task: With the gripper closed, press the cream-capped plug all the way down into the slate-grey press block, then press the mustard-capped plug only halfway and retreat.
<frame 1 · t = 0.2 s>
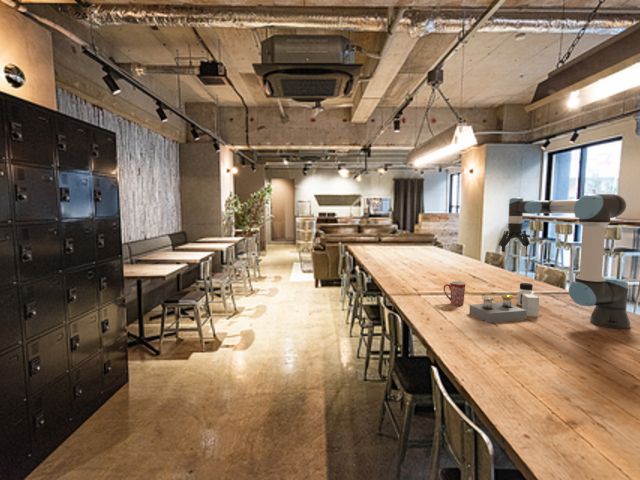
hand: (513, 256, 211), 28 cm above the table, fingers open, 13 cm apart
small box: (529, 314, 185), on the table
mug: (454, 304, 206), on the table
press block: (496, 316, 182), on the table
container: (525, 304, 204), on the table
plug cream: (487, 303, 180), point 8 cm above the table, slide at 0.0 cm
plug mustard: (507, 301, 182), point 8 cm above the table, slide at 0.0 cm
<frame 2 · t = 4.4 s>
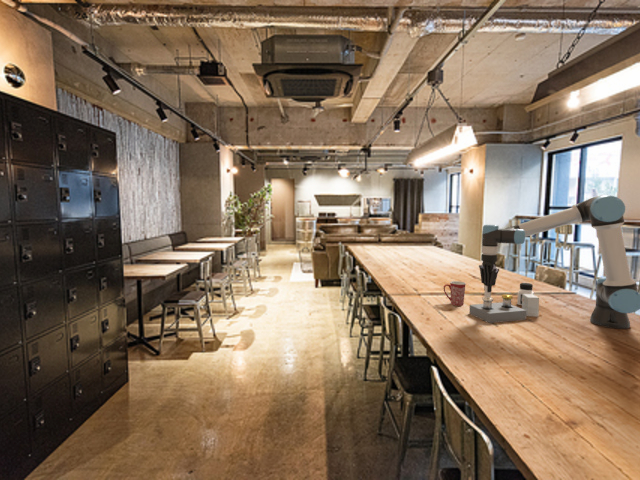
hand: (487, 297, 179), 11 cm above the table, fingers closed
plug cream: (487, 304, 180), point 7 cm above the table, slide at 0.5 cm, touching gripper
everything else where it was.
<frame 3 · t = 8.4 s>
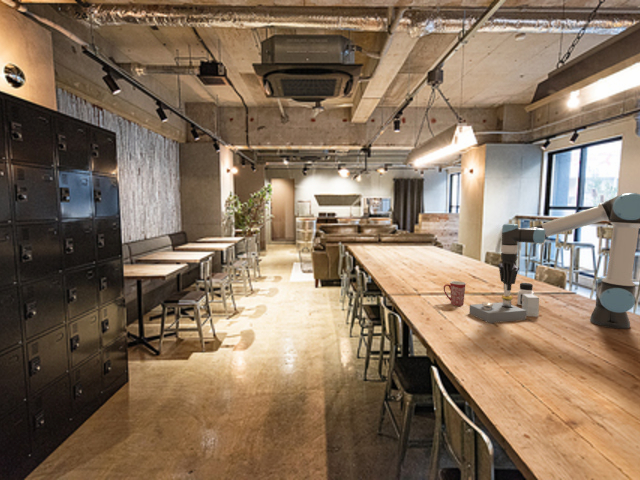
hand: (506, 295, 182), 11 cm above the table, fingers closed
plug cream: (487, 309, 180), point 4 cm above the table, slide at 3.6 cm
plug mustard: (506, 302, 182), point 7 cm above the table, slide at 0.4 cm, touching gripper
everything else where it was.
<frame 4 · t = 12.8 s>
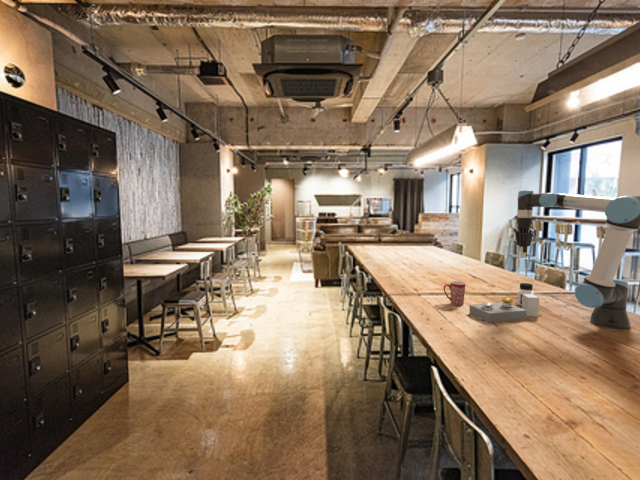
hand: (522, 257, 196), 29 cm above the table, fingers closed
plug mustard: (506, 305, 182), point 6 cm above the table, slide at 1.8 cm
everything else where it was.
at the end: plug cream slide at 3.6 cm; plug mustard slide at 1.8 cm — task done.
